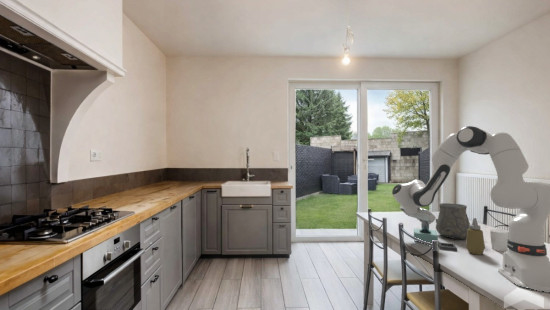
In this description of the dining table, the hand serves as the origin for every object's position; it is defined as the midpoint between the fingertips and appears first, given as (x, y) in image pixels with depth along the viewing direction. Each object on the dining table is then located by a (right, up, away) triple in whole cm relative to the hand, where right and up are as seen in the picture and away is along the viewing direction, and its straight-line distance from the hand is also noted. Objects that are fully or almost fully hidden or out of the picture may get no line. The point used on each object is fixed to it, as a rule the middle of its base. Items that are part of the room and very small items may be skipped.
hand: (426, 222), depth 168 cm
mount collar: (+4, -10, -15) cm, 18 cm away
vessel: (+20, -11, +6) cm, 24 cm away
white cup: (+30, -11, -18) cm, 36 cm away
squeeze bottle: (+13, -11, -23) cm, 29 cm away
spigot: (-1, -7, 0) cm, 7 cm away
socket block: (-1, -11, 0) cm, 11 cm away
